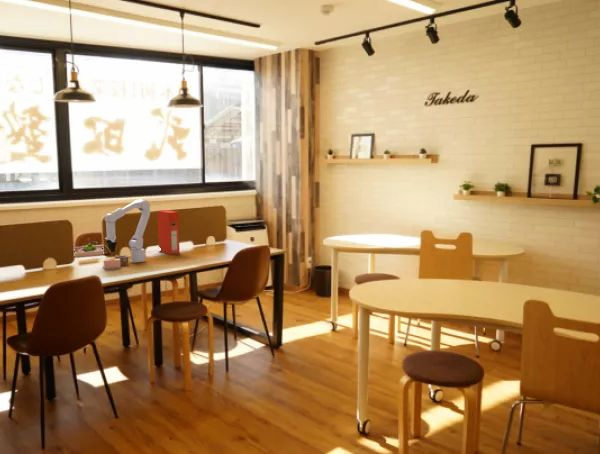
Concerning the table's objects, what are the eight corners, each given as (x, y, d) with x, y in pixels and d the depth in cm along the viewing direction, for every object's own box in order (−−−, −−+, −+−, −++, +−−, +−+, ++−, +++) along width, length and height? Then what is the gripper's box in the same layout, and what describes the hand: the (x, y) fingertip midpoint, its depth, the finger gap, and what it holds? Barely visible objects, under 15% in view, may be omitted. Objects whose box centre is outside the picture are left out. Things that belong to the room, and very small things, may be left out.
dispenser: (126, 263, 375) (126, 254, 374) (128, 264, 370) (128, 255, 369) (115, 264, 372) (115, 255, 371) (117, 265, 366) (117, 256, 366)
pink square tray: (104, 248, 427) (104, 244, 427) (110, 254, 405) (109, 250, 405) (70, 251, 415) (70, 247, 415) (74, 257, 394) (74, 253, 393)
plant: (101, 249, 424) (100, 235, 422) (106, 254, 408) (106, 239, 406) (73, 252, 413) (73, 237, 412) (78, 256, 397) (77, 241, 395)
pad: (118, 265, 366) (118, 265, 366) (121, 268, 358) (121, 267, 358) (102, 267, 362) (102, 266, 362) (105, 270, 353) (105, 269, 353)
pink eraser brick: (119, 265, 363) (119, 258, 363) (120, 266, 361) (120, 259, 360) (104, 267, 359) (103, 260, 358) (104, 268, 356) (104, 260, 355)
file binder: (170, 254, 405) (169, 212, 400) (158, 251, 417) (157, 210, 413) (179, 253, 411) (178, 212, 406) (167, 250, 423) (166, 209, 418)
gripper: (102, 230, 370) (103, 249, 372) (106, 233, 357) (107, 253, 359) (113, 229, 373) (114, 248, 375) (117, 232, 361) (118, 252, 363)
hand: (111, 251), depth 367 cm, fingers open, 7 cm apart
